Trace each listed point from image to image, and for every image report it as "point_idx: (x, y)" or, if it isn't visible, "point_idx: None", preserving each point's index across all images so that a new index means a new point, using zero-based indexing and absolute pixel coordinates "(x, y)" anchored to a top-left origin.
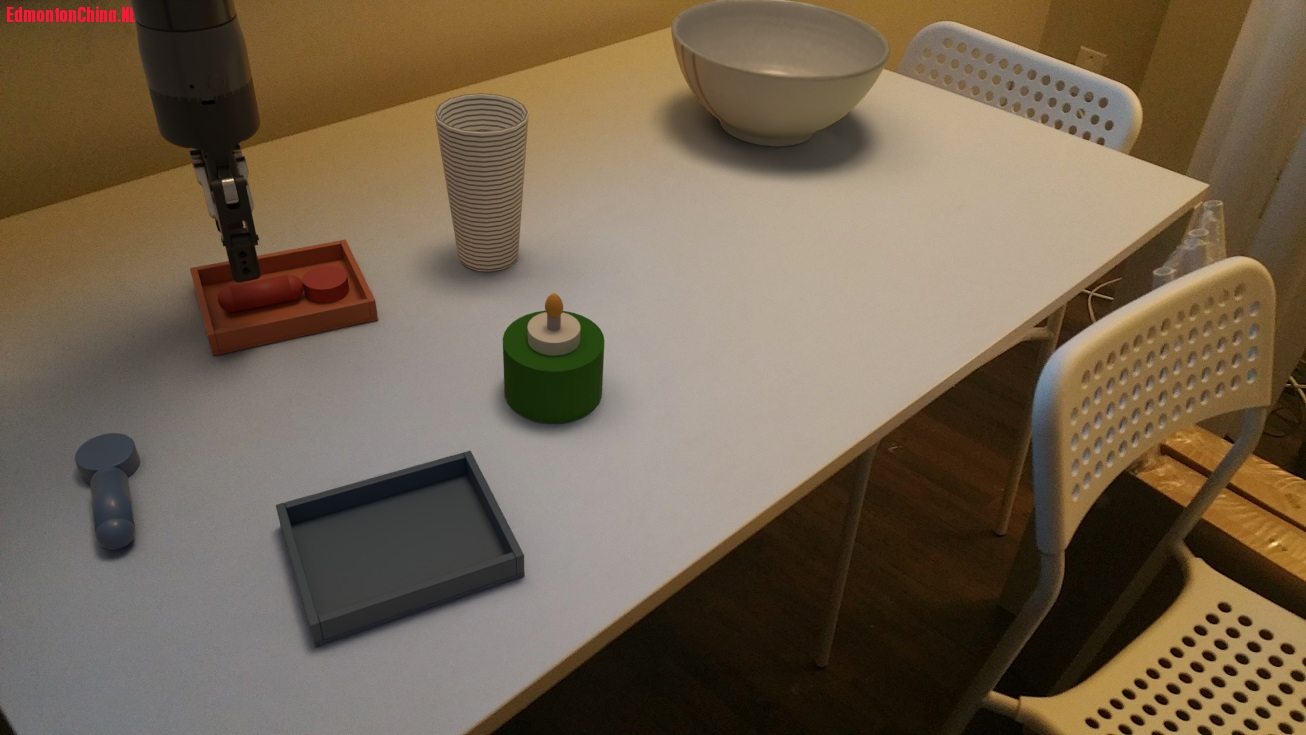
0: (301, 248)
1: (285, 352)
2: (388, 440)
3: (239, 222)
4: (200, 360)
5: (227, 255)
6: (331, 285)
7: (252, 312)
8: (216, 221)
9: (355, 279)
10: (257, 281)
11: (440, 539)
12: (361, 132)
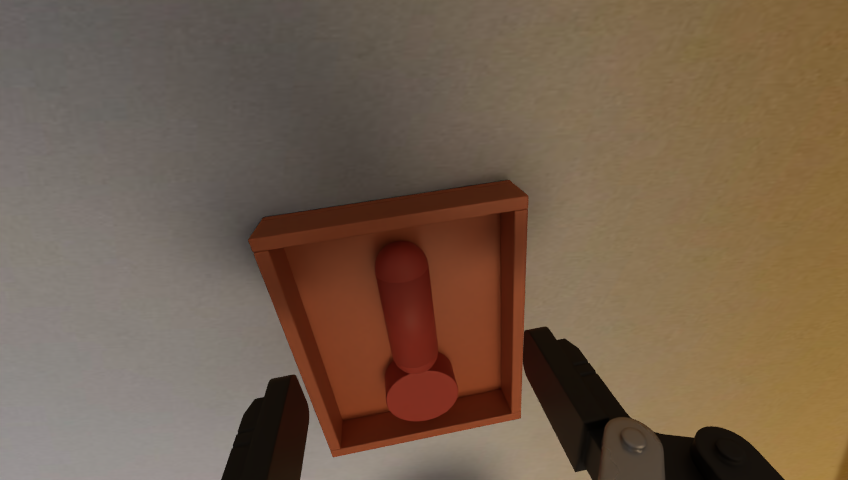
0: (518, 369)
1: (265, 322)
2: (29, 441)
3: (532, 381)
4: (251, 195)
5: (270, 441)
6: (394, 406)
7: None
8: (541, 352)
9: None
10: (416, 325)
11: None
12: (826, 390)
